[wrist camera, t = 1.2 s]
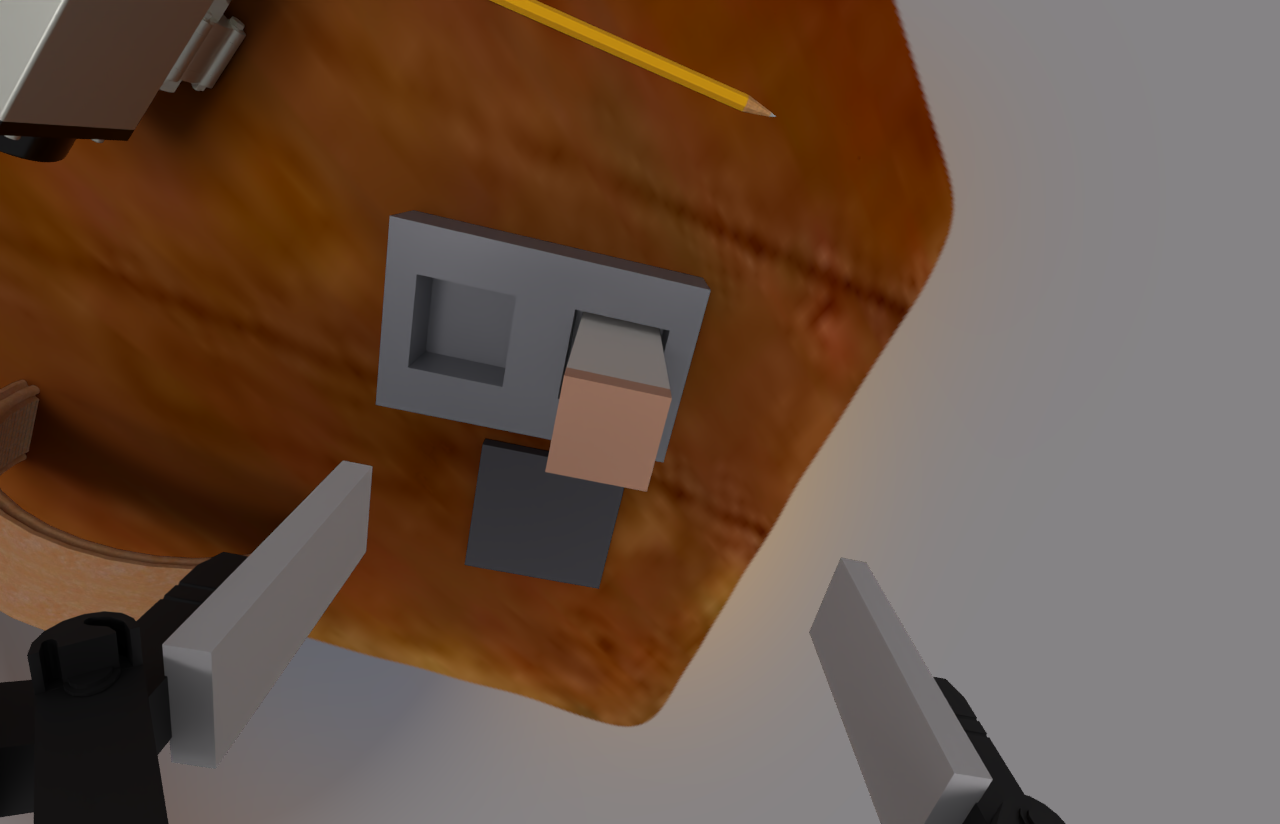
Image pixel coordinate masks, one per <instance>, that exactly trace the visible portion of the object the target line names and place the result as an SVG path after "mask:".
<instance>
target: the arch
mask: <svg viewBox="0 0 1280 824" xmlns="http://www.w3.org/2000/svg"><path fill="white" fill-rule="evenodd" d="M39 392H40V390H39V388H38V387H37V386H35V385H31V386H28V384H27V382H26V381H25V380H20V381H17V382H14V383H11V384H9V385H8V386H6V387H4V388H2V389H0V475H1V474H3V473H4V472H5V471H7V470H8V469H10V468H11V467H12V466H14V465H15V464H17V463H19V462H21V461H23V460H25V459H26V458H27V457H26V454H25V453H27V452H29V447H30V442H31V437H32V432H33V427H34V422H35V417H36V412H37V407H38V402H39V399H38V398H37V397H36V396H35V395H36V394H39ZM250 555H251V554H245V555H243V556H248V557H249V556H250ZM208 559H210V558H184V557H169V556H155V555H149V554H143V553H137V552H132V551H126V550H120V549H116V548H112V547H109V546H105V545H101V544H98V543H94V542H91V541H87V540H84V539H81V538H78V537H76V536H74V535H71V534H69V533H66V532H64V531H62V530H59V529H57V528H54V527H52V526H50V525H48V524H46V523H45V522H43V521H41V520H40V519H38V518H36V517H35V516H33V515H31V514H30V513H28V512H26V511H25V510H23V509H22V508H21V507H19V506H18V505H17V504H16V503H15V502H14V501H13V500H12V499H10V498H9V497H8V496H7V495H6V494H5V493H4V492H3V491H2V490H1V489H0V611H2V612H3V613H5V614H7V615H8V616H10V617H12V618H14V619H17V620H19V621H22V622H24V623H27V624H30V625H32V626H35V627H37V628H40V629H43V630H47V629H49V628H51V627H53V626H54V625H56V624H58V623H60V622H62V621H64V620H67V619H70V618H73V617H76V616H79V615H82V614H88V613H95V612H103V611H107V612H119V613H123V614H126V615H128V616H130V617H132V618H134V619H135V621H137V620H138V619H139V618H140V617H141V616H142V615H143V614H145V613H146V612H147V611H148V610H149V609H150V608H151V607H152V606H153V605H154V604H155V603H157V602H158V601H159V600H160V599H163V598H164V595H165V594H166V593H167V592H169V591H170V590H171V589H172V588H173V587H174V586H175V585H178V584H179V581H180V580H182V579H183V578H184V577H185V576H186V575H187V574H188V573H189V572H190V571H191V570H192V569H194V568H195V567H196V566H197V565H198V564H200V563H202V562H204V561H206V560H208Z"/></svg>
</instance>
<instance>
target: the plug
mask: <svg viewBox="0 0 1280 824" xmlns="http://www.w3.org/2000/svg"><path fill="white" fill-rule="evenodd" d="M671 400H672V396H671V391H670V385H669V380H668V374H667V369H666V363H665V358H664V352H663V347H662V341H661V336H660V330H659V328H656V327H651V326H647V325H642V324H638V323H633V322H629V321H624V320H620V319H616V318H611V317H607V316H602V315H598V314H593V313H589V312H584V311H583V315H582V318H581V321H580V324H579V328H578V331H577V334H576V338H575V341H574V344H573V347H572V351H571V354H570V357H569V361H568V364H567V367H566V371H565V374H564V378H563V383H562V388H561V393H560V399H559V404H558V409H557V414H556V419H555V424H554V429H553V434H552V440H551V445H550V450H549V455H548V460H547V465H546V470H545V472H548V473H553V474H558V475H564V476H569V477H574V478H579V479H584V480H589V481H594V482H599V483H605V484H610V485H615V486H620V487H625V488H630V489H635V490H640V491H646V492H647V489H648V485H649V481H650V478H651V474H652V470H653V467H654V463H655V459H656V455H657V452H658V448H659V444H660V440H661V437H662V433H663V429H664V426H665V422H666V418H667V414H668V411H669V407H670V403H671Z"/></svg>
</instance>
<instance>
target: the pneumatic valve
mask: <svg viewBox="0 0 1280 824" xmlns="http://www.w3.org/2000/svg"><path fill="white" fill-rule="evenodd" d="M230 2H231V0H0V151H1V152H3V153H6V154H9V155H12V156H15V157H19V158H23V159H27V160H32V161H38V162H56V161H60V160H62V159H64V158H65V157H66V155H67V154H68V152H69V150H70V149H71V147H72V145H73V144H74V142H75V140H76V139H91V140H93V141H95V142H97V143H103V142H104V140H122V141H128V139H129V138H130V136H131V135H132V133H133V131H134V130H135V128H136V126H137V125H138V123H139V122H140V120H141V118H142V117H143V115H144V113H145V112H146V110H147V109H148V107H149V105H150V104H151V102H152V100H153V99H154V97H155V95H156V94H157V92H158V91H159V89H160V90H163V91H166V92H171V93H174V92H175V90H176V89H177V87H178V86H179V84H180V82H181V81H186V82H190V83H191V84H192V87H193V88H194V89H195V90H197V91H204V89H205V88H206V87H208V88H213V86H214V85H215V83H216V81H217V80H218V78H219V77H220V75H221V74H222V72H223V71H224V69H225V67H226V66H227V64H228V63H229V61H230V60H231V58H232V57H233V55H234V53H235V52H236V50H237V49H238V47H239V46H240V44H241V43H242V41H243V39H244V38H245V36H246V34H245V33H244V30H243V28H244V27H245V25H244V24H243V23H242V22H241V21H240V20H238V19H237V18H235V17H234V16H232V17H231V18H230V19H227V18H226V17H225V16H224V15H223V13H224V12H225V10H226V9H227V7H228V5H229V4H230Z"/></svg>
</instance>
